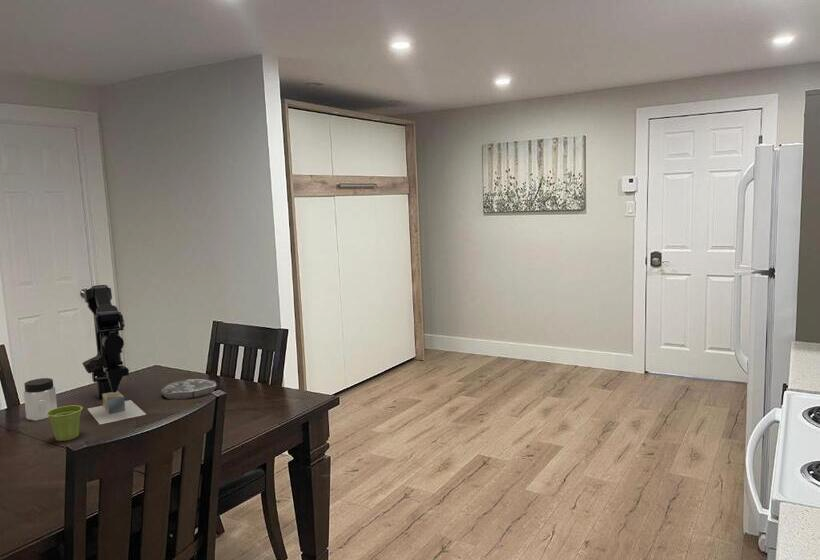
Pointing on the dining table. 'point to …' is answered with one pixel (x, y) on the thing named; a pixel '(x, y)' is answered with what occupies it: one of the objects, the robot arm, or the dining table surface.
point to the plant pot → (65, 422)
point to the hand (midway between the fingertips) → (114, 392)
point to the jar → (39, 398)
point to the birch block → (113, 402)
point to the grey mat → (104, 417)
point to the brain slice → (188, 389)
